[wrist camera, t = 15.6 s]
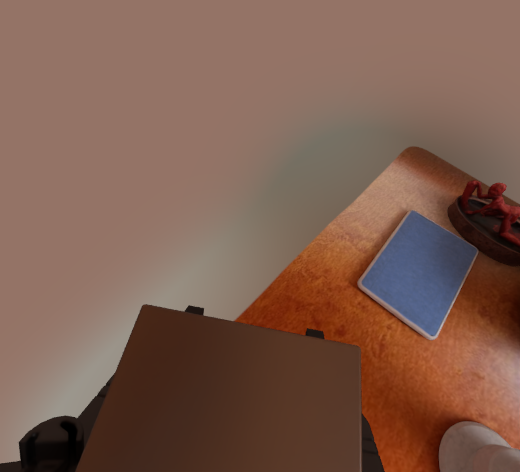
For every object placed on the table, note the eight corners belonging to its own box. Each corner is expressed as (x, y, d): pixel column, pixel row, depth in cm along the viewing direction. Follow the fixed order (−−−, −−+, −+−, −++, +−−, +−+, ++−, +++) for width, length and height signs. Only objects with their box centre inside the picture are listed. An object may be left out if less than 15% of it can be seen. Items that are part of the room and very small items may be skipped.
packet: (292, 372, 14) (362, 345, 6) (276, 526, 12) (369, 939, 3) (202, 354, 15) (141, 302, 6) (164, 500, 12) (-64, 806, 3)
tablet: (408, 210, 49) (411, 206, 48) (476, 252, 45) (482, 248, 44) (353, 286, 41) (356, 283, 40) (430, 344, 37) (436, 342, 36)
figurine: (434, 231, 47) (478, 178, 41) (437, 213, 54) (476, 165, 48) (530, 280, 42) (597, 228, 36) (520, 253, 49) (574, 206, 43)
